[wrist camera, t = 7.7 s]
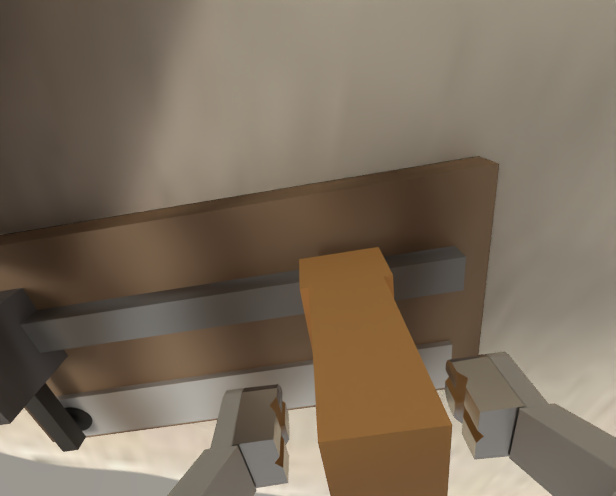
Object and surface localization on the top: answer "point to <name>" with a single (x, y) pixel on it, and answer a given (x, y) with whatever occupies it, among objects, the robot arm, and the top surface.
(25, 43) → the top surface
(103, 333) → the gauge board
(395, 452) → the sliding jaw
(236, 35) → the top surface
